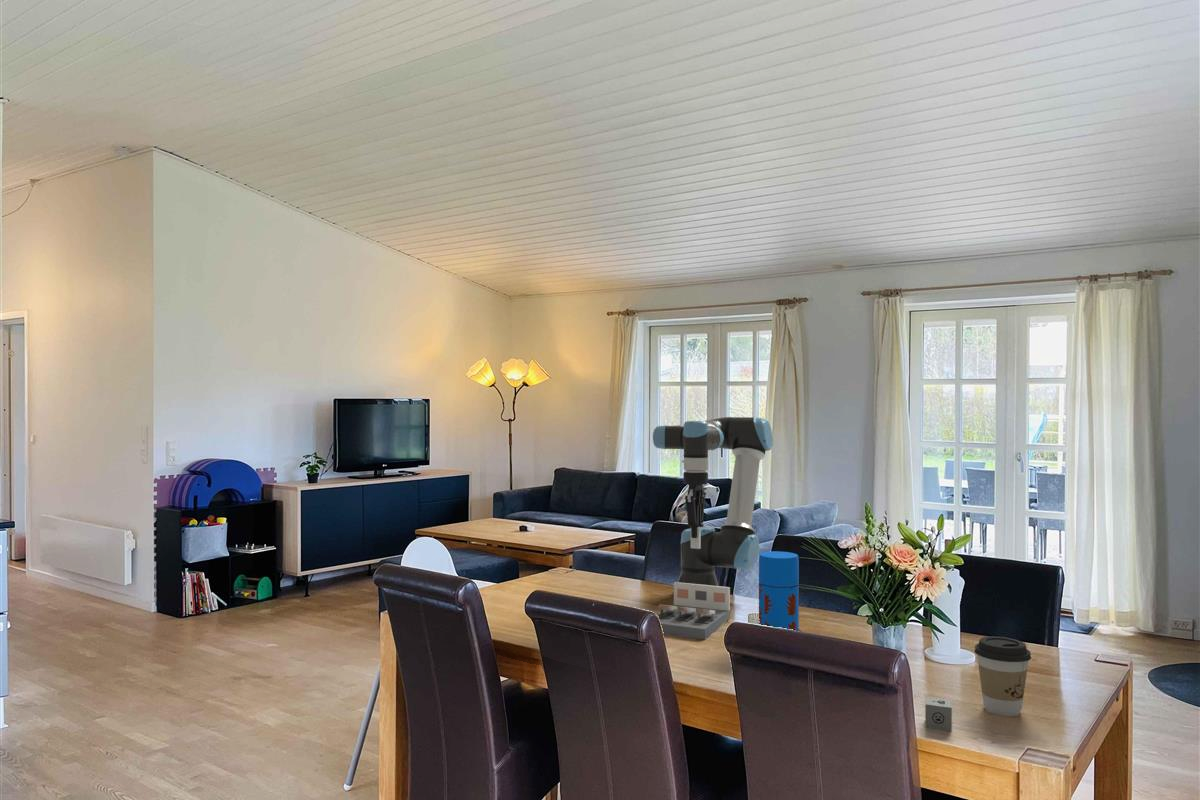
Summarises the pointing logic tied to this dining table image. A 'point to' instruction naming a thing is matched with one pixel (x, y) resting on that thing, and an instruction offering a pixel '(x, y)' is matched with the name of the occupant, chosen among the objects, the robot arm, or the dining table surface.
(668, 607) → the switch
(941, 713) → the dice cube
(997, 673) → the coffee cup
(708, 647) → the dining table surface
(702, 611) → the switch
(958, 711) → the dining table surface
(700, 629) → the switch unit
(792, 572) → the thermos
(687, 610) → the switch
